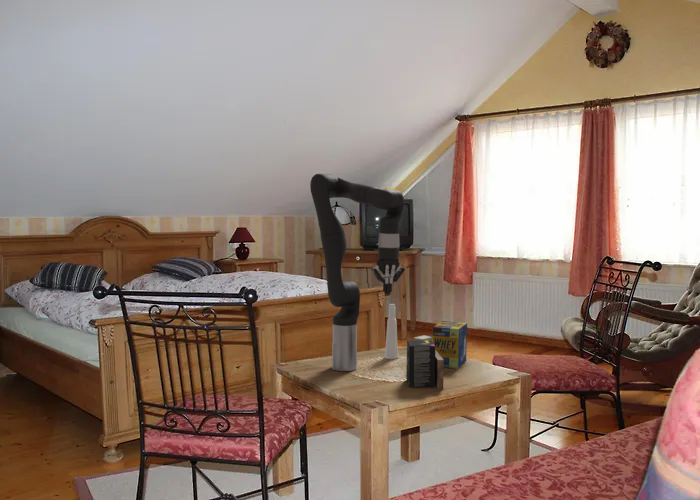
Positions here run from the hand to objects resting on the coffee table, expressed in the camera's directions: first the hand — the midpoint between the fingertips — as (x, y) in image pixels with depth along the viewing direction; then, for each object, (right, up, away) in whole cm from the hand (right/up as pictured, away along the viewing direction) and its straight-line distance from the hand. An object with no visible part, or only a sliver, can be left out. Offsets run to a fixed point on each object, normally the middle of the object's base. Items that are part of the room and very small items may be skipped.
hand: (387, 293), depth 244 cm
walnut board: (+17, -31, -5) cm, 36 cm away
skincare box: (+14, -30, +15) cm, 36 cm away
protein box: (+26, -29, +24) cm, 46 cm away
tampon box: (+11, -31, -7) cm, 34 cm away
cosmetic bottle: (+4, -29, +33) cm, 43 cm away
